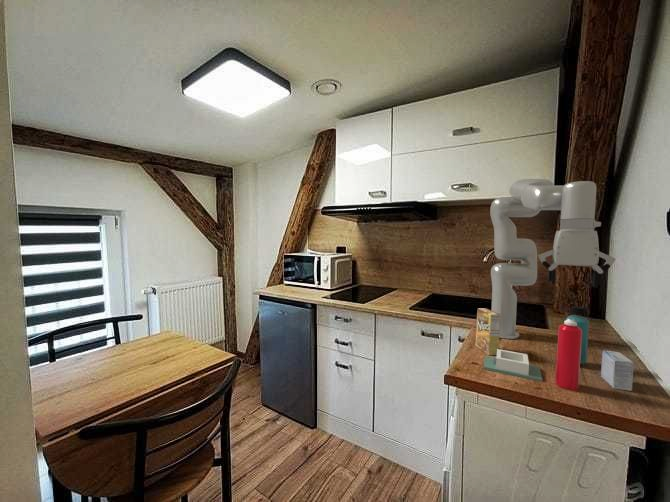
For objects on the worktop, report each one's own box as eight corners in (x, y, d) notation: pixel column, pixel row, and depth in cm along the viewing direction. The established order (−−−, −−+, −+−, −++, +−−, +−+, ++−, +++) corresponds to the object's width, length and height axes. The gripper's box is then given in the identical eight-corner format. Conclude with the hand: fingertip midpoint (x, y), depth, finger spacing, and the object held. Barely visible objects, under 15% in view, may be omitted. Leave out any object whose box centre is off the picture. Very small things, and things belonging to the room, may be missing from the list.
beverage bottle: (587, 363, 103) (591, 306, 102) (586, 370, 99) (590, 310, 97) (563, 358, 108) (567, 303, 106) (561, 363, 103) (565, 306, 102)
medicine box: (632, 392, 85) (634, 362, 85) (612, 388, 87) (614, 359, 86) (618, 379, 93) (620, 352, 92) (600, 376, 94) (602, 349, 94)
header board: (485, 358, 107) (485, 346, 107) (539, 368, 99) (539, 356, 99) (483, 369, 98) (484, 356, 98) (542, 381, 90) (543, 367, 90)
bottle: (571, 392, 85) (576, 322, 83) (551, 383, 90) (555, 317, 88) (582, 387, 87) (587, 320, 86) (561, 379, 92) (565, 315, 91)
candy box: (474, 346, 118) (476, 308, 117) (484, 345, 119) (486, 307, 118) (488, 355, 109) (490, 314, 108) (499, 355, 110) (501, 314, 109)
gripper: (612, 226, 84) (608, 286, 85) (538, 226, 93) (535, 281, 94) (621, 225, 78) (617, 290, 79) (541, 225, 86) (538, 284, 87)
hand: (573, 285), depth 86 cm, fingers open, 9 cm apart
